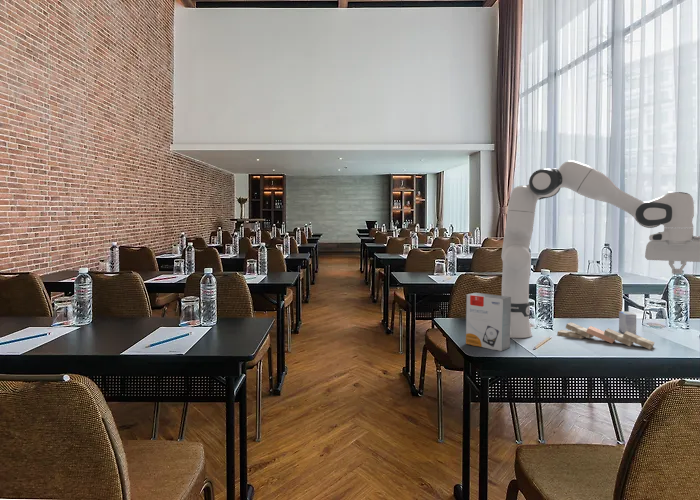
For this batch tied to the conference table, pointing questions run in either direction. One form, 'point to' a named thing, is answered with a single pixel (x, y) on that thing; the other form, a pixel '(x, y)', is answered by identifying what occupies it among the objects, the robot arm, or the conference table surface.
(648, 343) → the end domino
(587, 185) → the robot arm
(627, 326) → the medicine box
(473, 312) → the hard drive box
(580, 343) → the conference table surface
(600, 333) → the domino
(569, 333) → the domino
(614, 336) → the domino
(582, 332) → the domino
